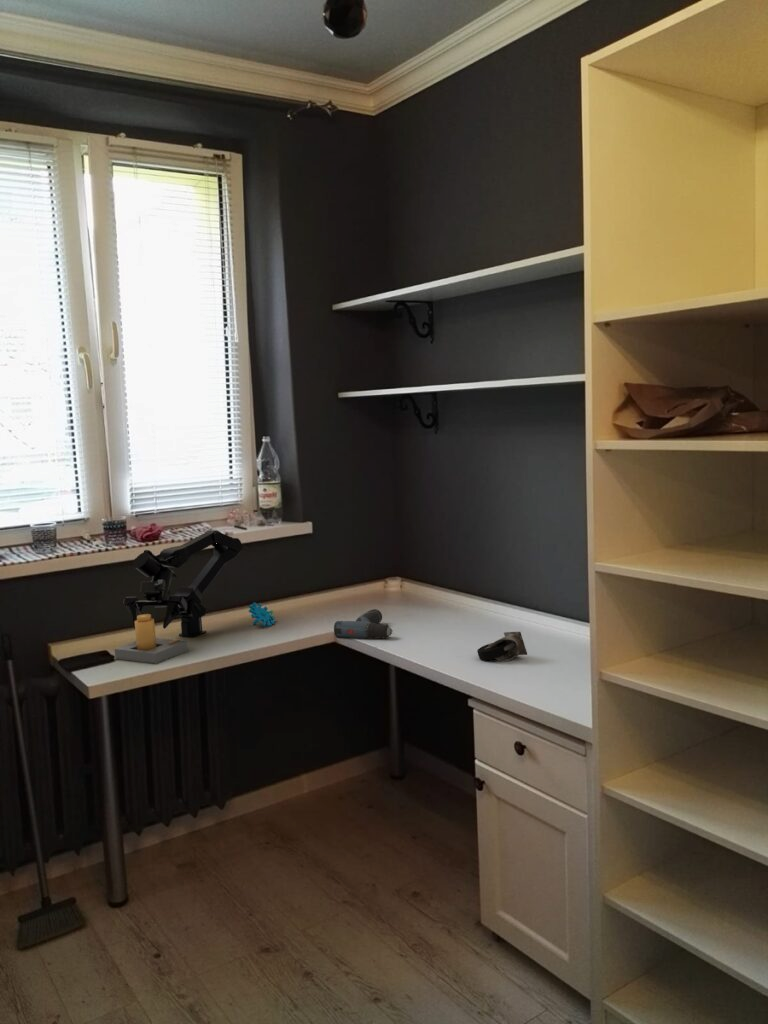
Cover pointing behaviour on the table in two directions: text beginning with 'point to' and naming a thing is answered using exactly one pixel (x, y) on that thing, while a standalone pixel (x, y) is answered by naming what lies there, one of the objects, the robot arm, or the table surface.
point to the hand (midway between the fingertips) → (149, 628)
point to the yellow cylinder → (145, 632)
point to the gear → (261, 614)
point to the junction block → (152, 651)
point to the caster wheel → (504, 648)
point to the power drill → (363, 627)
